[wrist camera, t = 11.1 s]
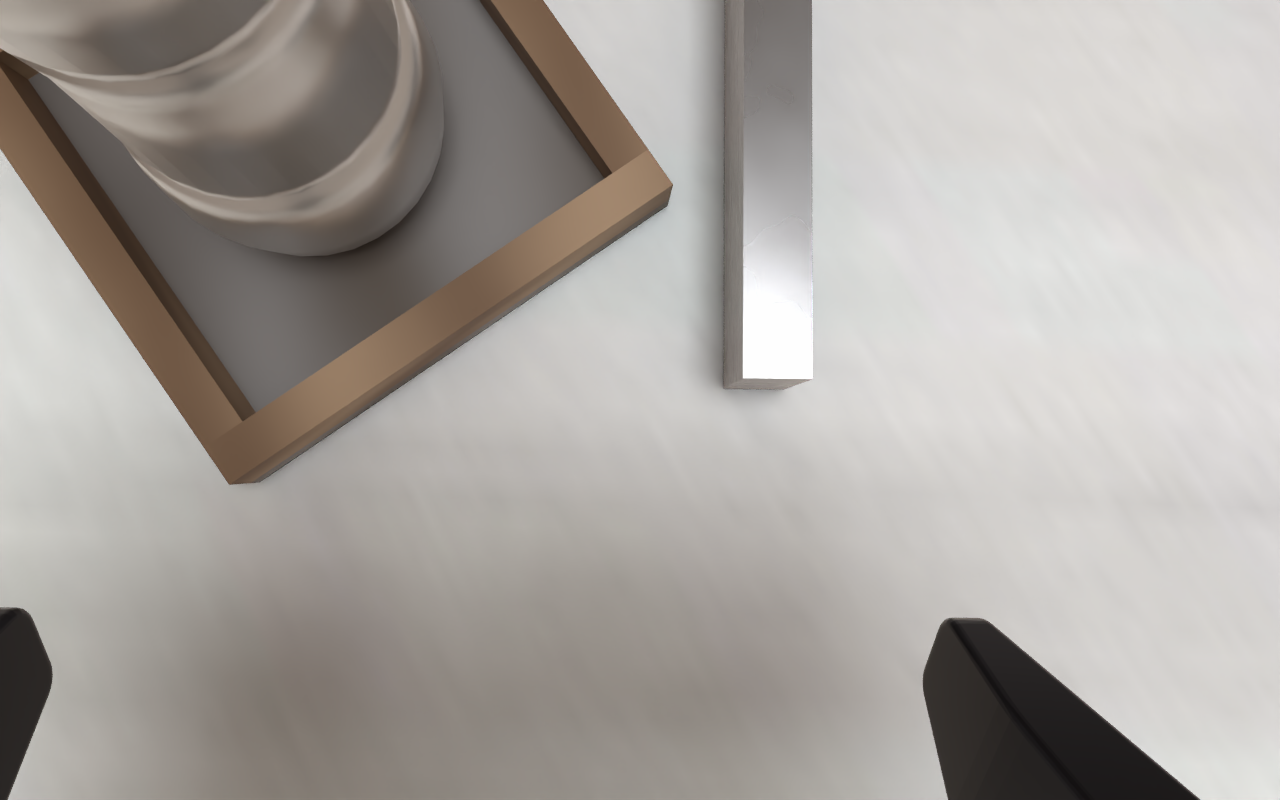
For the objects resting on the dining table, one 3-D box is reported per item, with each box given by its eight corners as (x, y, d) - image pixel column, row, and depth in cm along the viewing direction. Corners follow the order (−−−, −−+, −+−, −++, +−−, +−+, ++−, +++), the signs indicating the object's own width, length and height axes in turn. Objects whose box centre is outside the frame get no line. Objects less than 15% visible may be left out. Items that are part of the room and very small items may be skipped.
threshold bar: (783, 389, 22) (812, 378, 19) (723, 388, 22) (743, 378, 19) (783, -77, 22) (811, -159, 19) (725, -79, 22) (744, -162, 19)
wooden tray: (259, 482, 21) (229, 484, 19) (-17, 77, 21) (-71, 44, 20) (667, 205, 22) (672, 184, 20) (396, -180, 22) (379, -232, 20)
